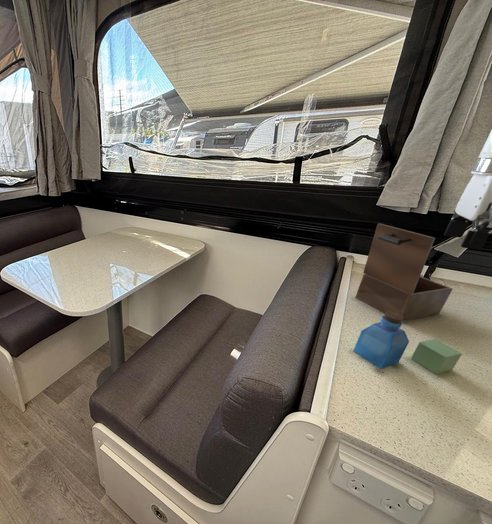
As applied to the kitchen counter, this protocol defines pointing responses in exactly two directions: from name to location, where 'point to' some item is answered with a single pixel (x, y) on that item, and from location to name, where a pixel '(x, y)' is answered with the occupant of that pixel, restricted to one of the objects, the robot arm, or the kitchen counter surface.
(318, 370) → the kitchen counter surface
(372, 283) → the chest
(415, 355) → the block
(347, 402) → the kitchen counter surface
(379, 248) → the lid
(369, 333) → the perfume bottle
